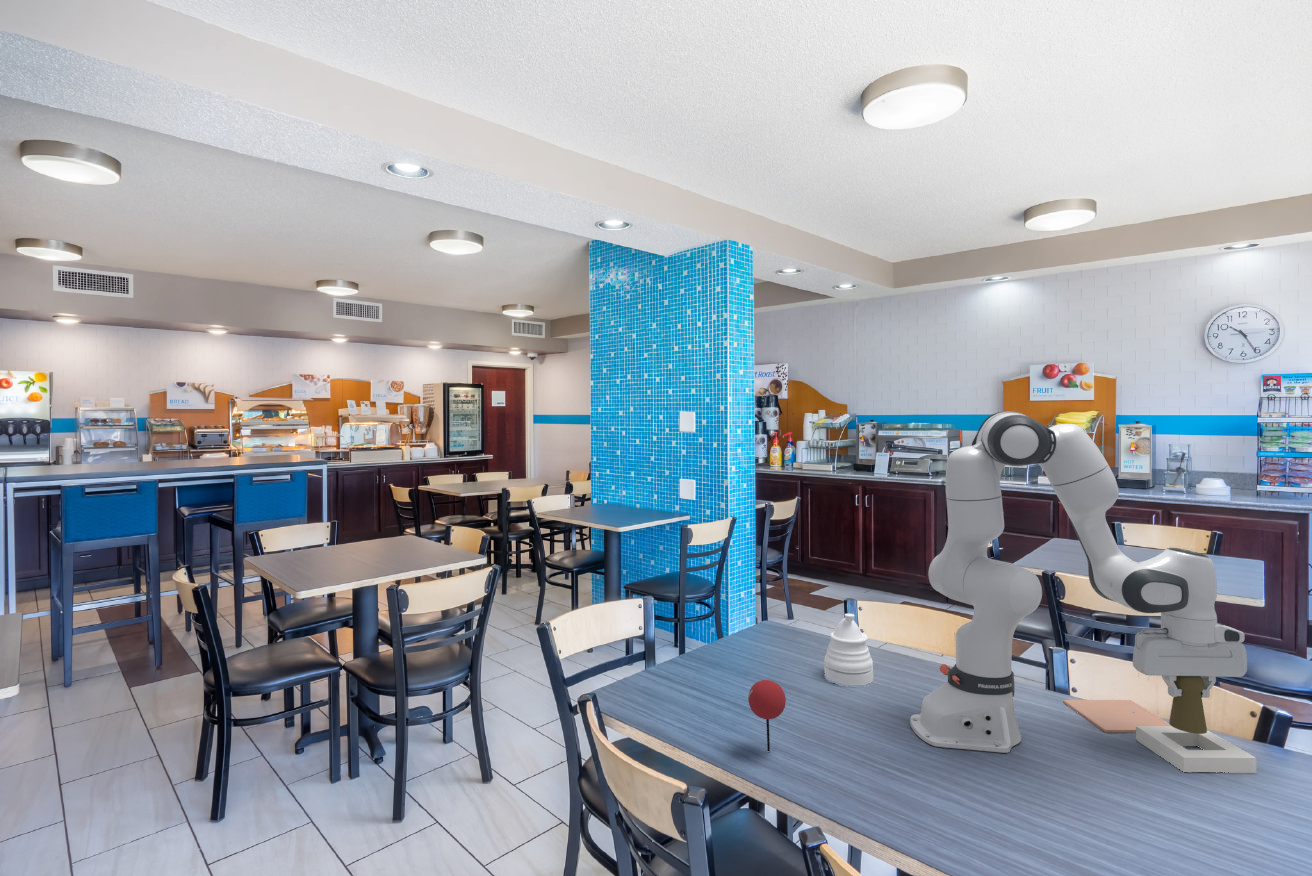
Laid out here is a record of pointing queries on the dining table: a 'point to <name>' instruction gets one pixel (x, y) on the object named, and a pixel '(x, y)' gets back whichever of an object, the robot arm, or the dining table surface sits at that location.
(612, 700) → the dining table surface
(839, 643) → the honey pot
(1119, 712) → the terracotta tile
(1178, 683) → the olive pawn
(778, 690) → the lollipop
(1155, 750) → the frame
